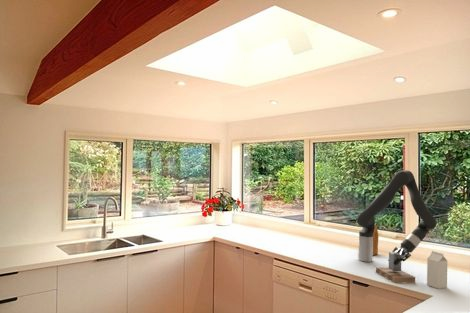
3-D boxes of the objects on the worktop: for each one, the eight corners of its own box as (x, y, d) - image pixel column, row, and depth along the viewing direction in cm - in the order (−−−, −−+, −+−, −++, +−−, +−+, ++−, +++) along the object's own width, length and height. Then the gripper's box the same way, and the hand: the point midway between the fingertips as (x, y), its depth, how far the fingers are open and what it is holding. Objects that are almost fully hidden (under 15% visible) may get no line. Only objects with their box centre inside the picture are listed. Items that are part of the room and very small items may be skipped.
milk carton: (438, 289, 195) (439, 254, 195) (426, 284, 201) (427, 251, 202) (447, 287, 198) (447, 253, 198) (435, 283, 204) (436, 250, 204)
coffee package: (365, 250, 279) (365, 223, 280) (379, 254, 270) (380, 225, 270) (358, 252, 273) (358, 224, 274) (373, 256, 264) (373, 226, 264)
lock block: (388, 268, 216) (389, 251, 217) (396, 268, 217) (396, 251, 217) (393, 271, 212) (393, 253, 212) (401, 270, 212) (401, 253, 212)
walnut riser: (375, 272, 223) (375, 267, 223) (394, 271, 225) (395, 267, 225) (394, 282, 203) (394, 277, 203) (415, 282, 205) (415, 277, 205)
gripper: (399, 236, 223) (381, 255, 221) (414, 241, 209) (395, 261, 207) (407, 244, 223) (389, 263, 222) (422, 250, 209) (403, 270, 207)
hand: (392, 262), depth 214 cm, fingers closed on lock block, 5 cm apart
